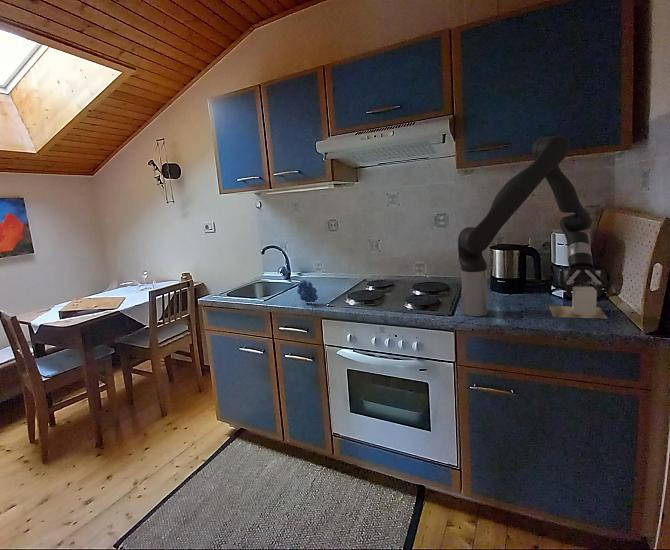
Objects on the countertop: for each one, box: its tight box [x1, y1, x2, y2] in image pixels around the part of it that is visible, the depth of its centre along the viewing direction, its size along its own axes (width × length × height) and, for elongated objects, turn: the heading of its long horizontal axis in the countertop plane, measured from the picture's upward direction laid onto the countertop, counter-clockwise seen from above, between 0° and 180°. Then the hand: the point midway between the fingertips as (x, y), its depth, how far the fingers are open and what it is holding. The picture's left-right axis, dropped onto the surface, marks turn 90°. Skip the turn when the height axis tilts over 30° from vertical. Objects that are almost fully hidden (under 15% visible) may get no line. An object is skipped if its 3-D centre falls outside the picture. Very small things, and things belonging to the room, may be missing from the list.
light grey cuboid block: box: [571, 286, 598, 315], centre depth 135 cm, size 6×6×8 cm
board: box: [549, 305, 609, 319], centre depth 137 cm, size 16×13×1 cm
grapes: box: [296, 279, 319, 303], centre depth 185 cm, size 12×7×12 cm, turn 58°
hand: (584, 295), depth 134 cm, fingers open, 8 cm apart
